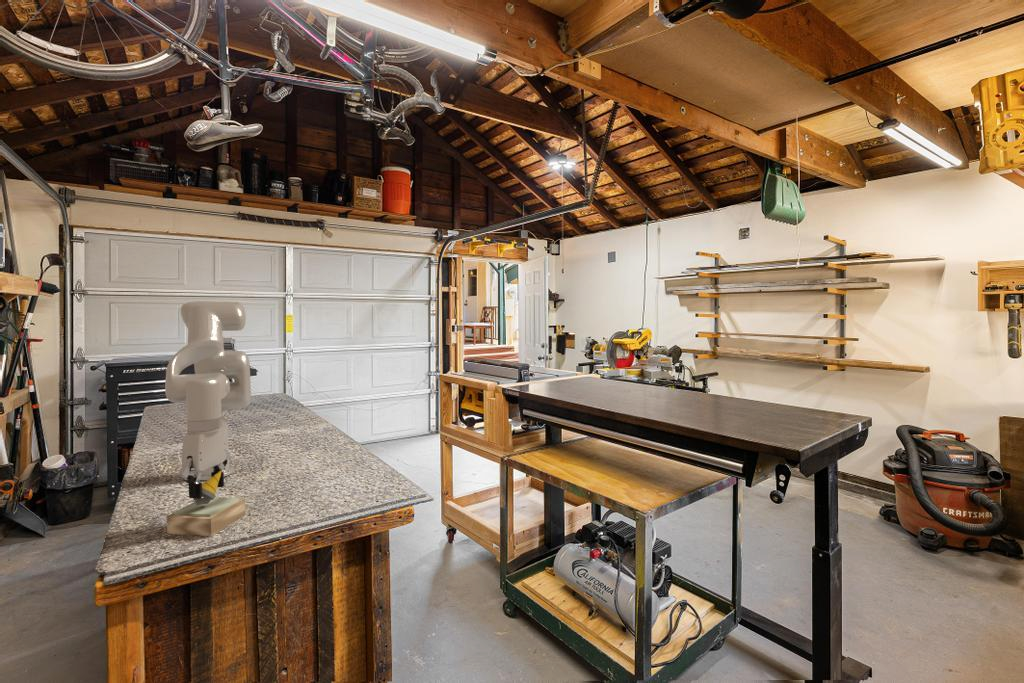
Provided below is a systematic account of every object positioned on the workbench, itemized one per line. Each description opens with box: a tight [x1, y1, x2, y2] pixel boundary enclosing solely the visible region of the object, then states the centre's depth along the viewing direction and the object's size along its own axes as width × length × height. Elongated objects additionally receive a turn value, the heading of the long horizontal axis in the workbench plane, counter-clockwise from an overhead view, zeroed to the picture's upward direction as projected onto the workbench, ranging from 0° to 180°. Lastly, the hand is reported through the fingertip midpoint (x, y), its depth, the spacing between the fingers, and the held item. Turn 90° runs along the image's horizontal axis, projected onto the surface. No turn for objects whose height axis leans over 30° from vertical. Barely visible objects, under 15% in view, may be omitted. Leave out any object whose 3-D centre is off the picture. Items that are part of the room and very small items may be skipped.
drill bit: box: [192, 470, 222, 506], centre depth 117 cm, size 5×5×10 cm
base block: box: [166, 496, 246, 537], centre depth 118 cm, size 12×12×5 cm
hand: (207, 491), depth 118 cm, fingers closed on drill bit, 6 cm apart
